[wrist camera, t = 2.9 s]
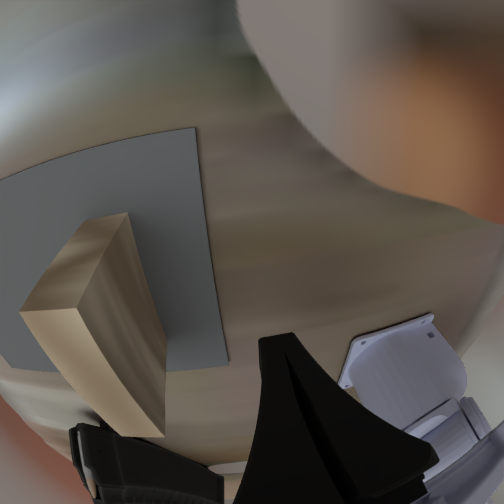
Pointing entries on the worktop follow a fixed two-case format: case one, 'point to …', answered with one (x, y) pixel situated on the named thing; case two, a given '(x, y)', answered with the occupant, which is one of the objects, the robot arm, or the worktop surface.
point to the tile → (104, 326)
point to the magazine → (138, 470)
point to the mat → (144, 231)
